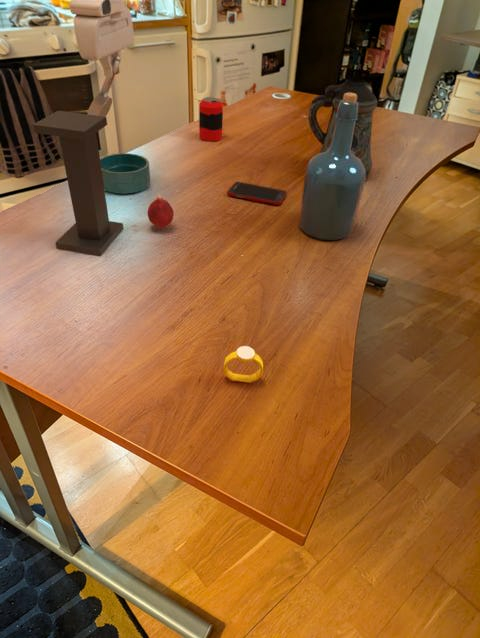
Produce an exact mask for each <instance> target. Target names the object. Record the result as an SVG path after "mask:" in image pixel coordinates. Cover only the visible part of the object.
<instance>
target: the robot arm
mask: <svg viewBox="0 0 480 638" xmlns="http://www.w3.org/2000/svg"><path fill="white" fill-rule="evenodd" d="M69 11H70V13H71V14H72V15H74V18H73V28H74V29H73V30H74V34H75V35H74V36H75V40H76V45H77V50H78V53H79V55H80V57H81V59H83V60H86V61H99V63H100V65H101V67H102V69H103V76H104V77H105V78H106V77H109V78H111V77H113V76H114V75H115V76H116V75H119V74H120V73H121V67H120V65H119V66H118V69H117V71H116V74H114V68H113V67H112V66H111V62H112V59H113V57H114V56H115V55H118V56H119V57H120V59H122V50H124V49H126V48H128V47H131V46H133V45H134V42H135V33H134V24H133V18H132V13H131V10H130V8H129V7H128V5H127V0H69ZM115 76H114V77H115Z"/></svg>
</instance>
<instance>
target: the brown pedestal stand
mask: <svg viewBox="0 0 480 638" xmlns="http://www.w3.org/2000/svg"><path fill="white" fill-rule="evenodd" d="M106 126H108V120H107V116H106V117H104V116H96V115H88V114H87V113H86V114H85V113H79V112H74V111H73V112H72V111H64V110H57V111H55V112H53V113H51V114H50V115H48V116H46V117H44V118H42V119H40V120H38V121H36V122H34V123H33V124H32V129H33V133H34V134H39V135H46V136H54V137H58V139H59V143H60V144H59V145H60V148H61V150H60V151H61V155H62V160H63V165H64V170H65V176H66V179H67V185H68V191H69V195H70V200H71V207H72V210H73V215H74V220H75V223H74V224H73V225H71V227H70V228H68V230H66V231H65V232H64V234H63V235H61V236H60V237H59V238H58V239H57V240H56V241H55V242H54V243H55V247H56V249H58V250H64V251H69V252H74V253H81V254H87V255H92V256H97V257H101V256H102V255H103V254H104V253H105V251H107V249H108V248H109V247H110V245H112V243H114V242H115V240H116V239H117V238H118V236H119V235H120V234H121V233H122V232H123V230H124V222H119V221H111V220H110V219H109V212H108V205H107V198H106V192H105V191H106V190H104V183H103V176H102V169H101V162H100V158H101V156H100V148H99V142H98V135H97V133H98V132H99V131H101V130H102V129H104V128H105V127H106Z"/></svg>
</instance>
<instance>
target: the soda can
mask: <svg viewBox="0 0 480 638" xmlns="http://www.w3.org/2000/svg"><path fill="white" fill-rule="evenodd" d="M198 105H199V106H198V113H199V117H198V121H199V122H198V123H199V125H198V127H199V128H198V129H199V130H198V131H199V134H198V135H199V139H200V140H201V141H203V142H207V141H211V142H210V143H215V142H214V141H216V142H219V141H221V140H222V139H223V123H224V121H223V119H224V115H223V114H224V103H223V102H222V101H221V99H220V98H218V97H211V96H208V97H207V96H206V97H203V98H202V99H201V101H199V104H198Z"/></svg>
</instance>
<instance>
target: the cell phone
mask: <svg viewBox="0 0 480 638" xmlns="http://www.w3.org/2000/svg"><path fill="white" fill-rule="evenodd" d="M287 194H288V193H287V191H286V190H284V189H278V188H274V187H273V188H272V187H268V186H263V185H257V184H252V183H247V182H241V181H235V182H234V183H233V184H232V185H231V186H230V187H229V189H228V190H227V192H226V195H227V196H229V197H234V198H240V199H245V200H248V201H252V202H259V203H262V204H263V203H264V204H268V205H273V206H281V205H282V204H283V202H284V200H285V199H286V198H287Z"/></svg>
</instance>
